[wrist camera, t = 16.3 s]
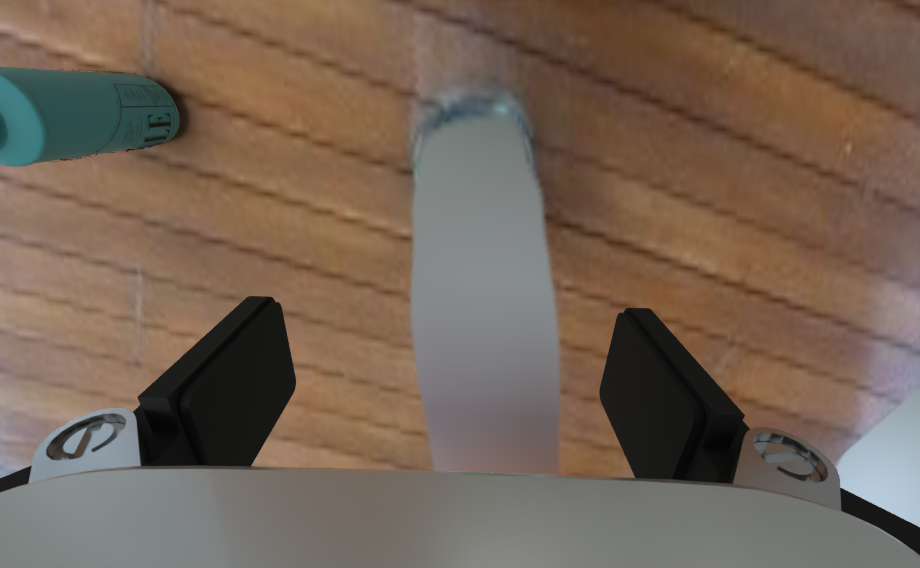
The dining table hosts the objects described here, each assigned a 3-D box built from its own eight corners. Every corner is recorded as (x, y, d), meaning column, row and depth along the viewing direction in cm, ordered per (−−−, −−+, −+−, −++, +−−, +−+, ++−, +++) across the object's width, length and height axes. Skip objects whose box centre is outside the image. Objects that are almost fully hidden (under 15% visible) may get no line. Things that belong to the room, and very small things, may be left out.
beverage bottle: (121, 66, 37) (-204, 34, 19) (192, 84, 38) (-57, 70, 20) (129, 136, 40) (-147, 166, 22) (195, 152, 40) (-20, 194, 22)
